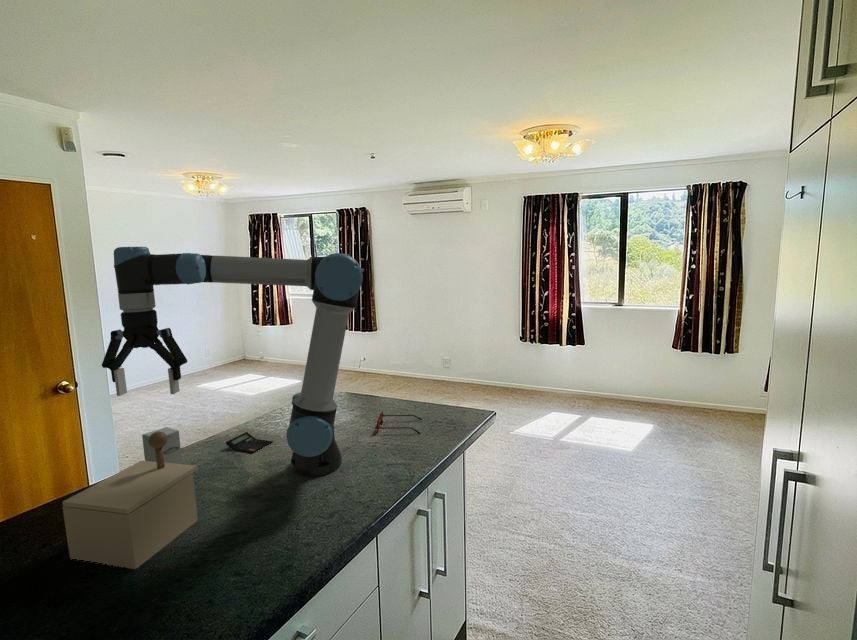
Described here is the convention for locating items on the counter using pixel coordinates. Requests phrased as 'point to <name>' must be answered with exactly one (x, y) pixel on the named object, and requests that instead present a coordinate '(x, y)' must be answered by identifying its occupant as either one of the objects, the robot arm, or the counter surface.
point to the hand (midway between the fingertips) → (148, 393)
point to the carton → (131, 528)
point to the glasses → (392, 427)
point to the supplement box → (164, 447)
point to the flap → (133, 483)
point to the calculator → (247, 443)
